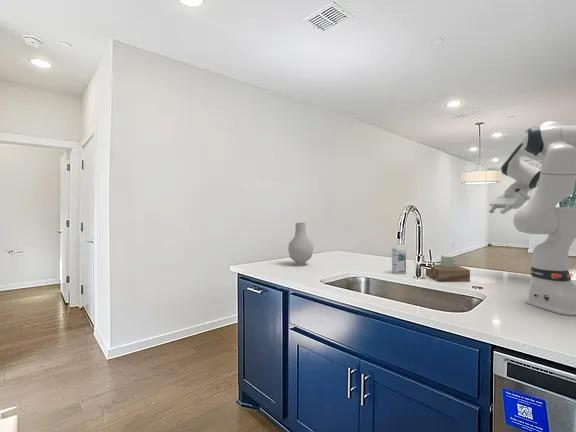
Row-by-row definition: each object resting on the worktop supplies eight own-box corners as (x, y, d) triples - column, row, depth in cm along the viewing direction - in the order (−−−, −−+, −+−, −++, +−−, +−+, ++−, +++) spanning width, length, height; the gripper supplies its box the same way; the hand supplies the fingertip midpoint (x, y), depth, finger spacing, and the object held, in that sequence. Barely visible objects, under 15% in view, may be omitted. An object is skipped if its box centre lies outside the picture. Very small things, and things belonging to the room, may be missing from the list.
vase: (283, 264, 222) (283, 223, 221) (300, 261, 233) (300, 221, 232) (300, 268, 209) (300, 224, 208) (318, 264, 220) (317, 222, 219)
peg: (453, 279, 176) (453, 256, 176) (444, 279, 176) (445, 256, 176) (448, 277, 181) (449, 255, 180) (440, 277, 181) (441, 255, 180)
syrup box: (397, 274, 190) (397, 249, 189) (391, 272, 195) (391, 247, 195) (406, 273, 191) (406, 248, 190) (399, 271, 197) (400, 247, 196)
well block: (469, 281, 171) (470, 269, 170) (439, 281, 170) (439, 270, 170) (453, 274, 187) (453, 264, 186) (425, 275, 186) (425, 264, 186)
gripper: (497, 190, 185) (479, 208, 185) (524, 189, 164) (504, 209, 164) (505, 198, 185) (487, 216, 185) (532, 198, 164) (513, 217, 165)
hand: (495, 212), depth 175 cm, fingers open, 8 cm apart
